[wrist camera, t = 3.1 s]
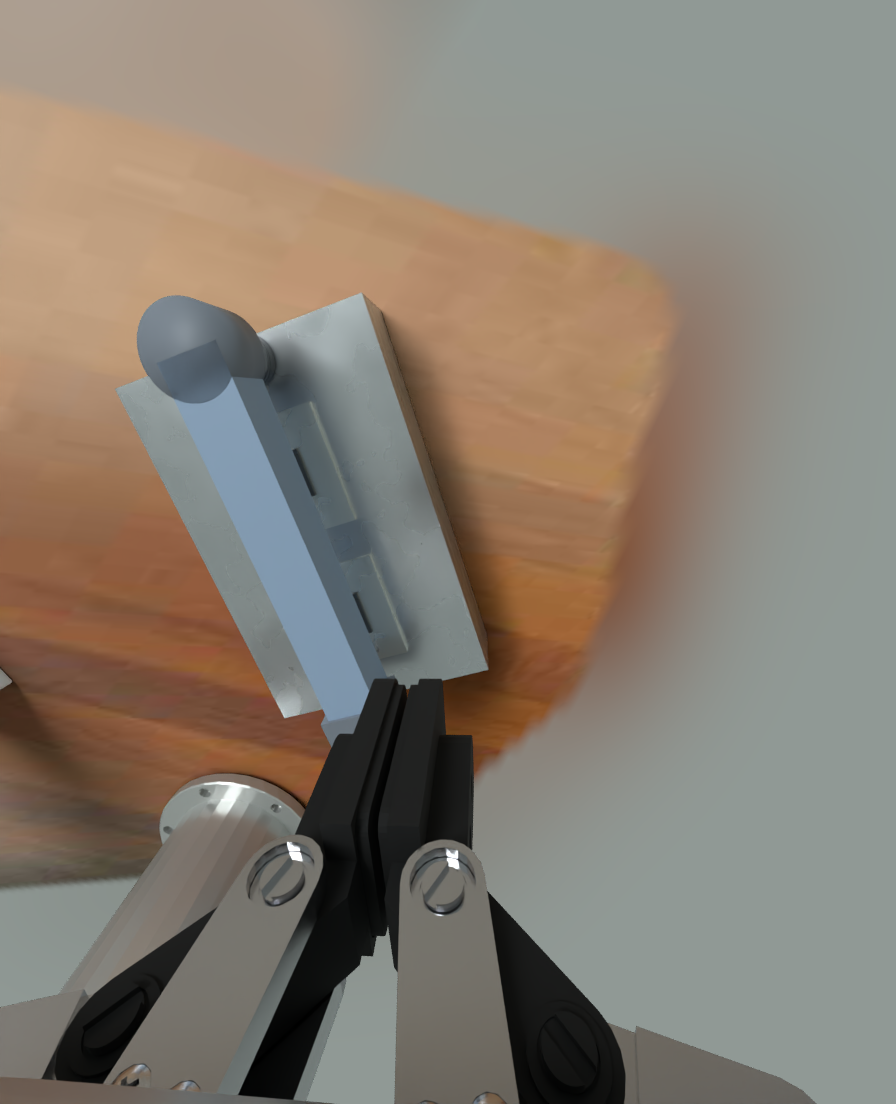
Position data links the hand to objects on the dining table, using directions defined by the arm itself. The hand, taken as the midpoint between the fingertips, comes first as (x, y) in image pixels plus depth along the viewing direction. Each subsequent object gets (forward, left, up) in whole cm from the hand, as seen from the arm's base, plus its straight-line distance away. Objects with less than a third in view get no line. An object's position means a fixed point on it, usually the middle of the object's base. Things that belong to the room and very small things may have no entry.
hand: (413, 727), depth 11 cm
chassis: (+3, +6, -17) cm, 18 cm away
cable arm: (+3, +6, -11) cm, 13 cm away
